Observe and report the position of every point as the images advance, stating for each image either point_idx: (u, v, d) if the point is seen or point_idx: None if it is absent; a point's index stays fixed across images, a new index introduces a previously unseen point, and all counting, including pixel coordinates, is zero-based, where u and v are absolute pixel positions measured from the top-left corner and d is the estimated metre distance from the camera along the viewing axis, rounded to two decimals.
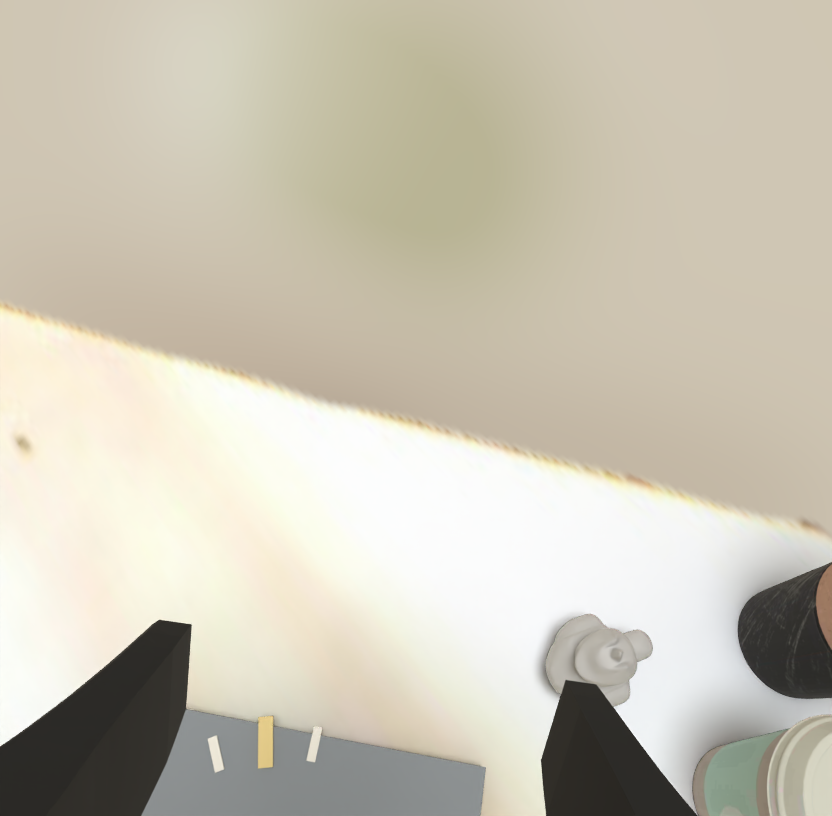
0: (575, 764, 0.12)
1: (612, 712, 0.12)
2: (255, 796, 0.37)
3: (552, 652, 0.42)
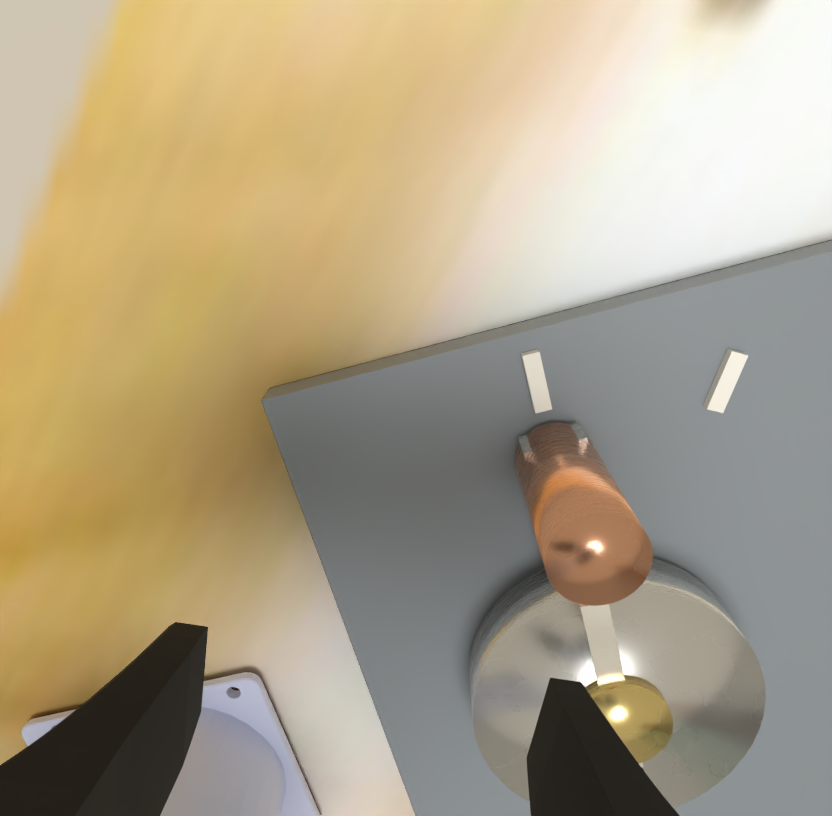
0: (558, 761, 0.12)
1: (595, 709, 0.12)
2: (816, 551, 0.22)
3: None
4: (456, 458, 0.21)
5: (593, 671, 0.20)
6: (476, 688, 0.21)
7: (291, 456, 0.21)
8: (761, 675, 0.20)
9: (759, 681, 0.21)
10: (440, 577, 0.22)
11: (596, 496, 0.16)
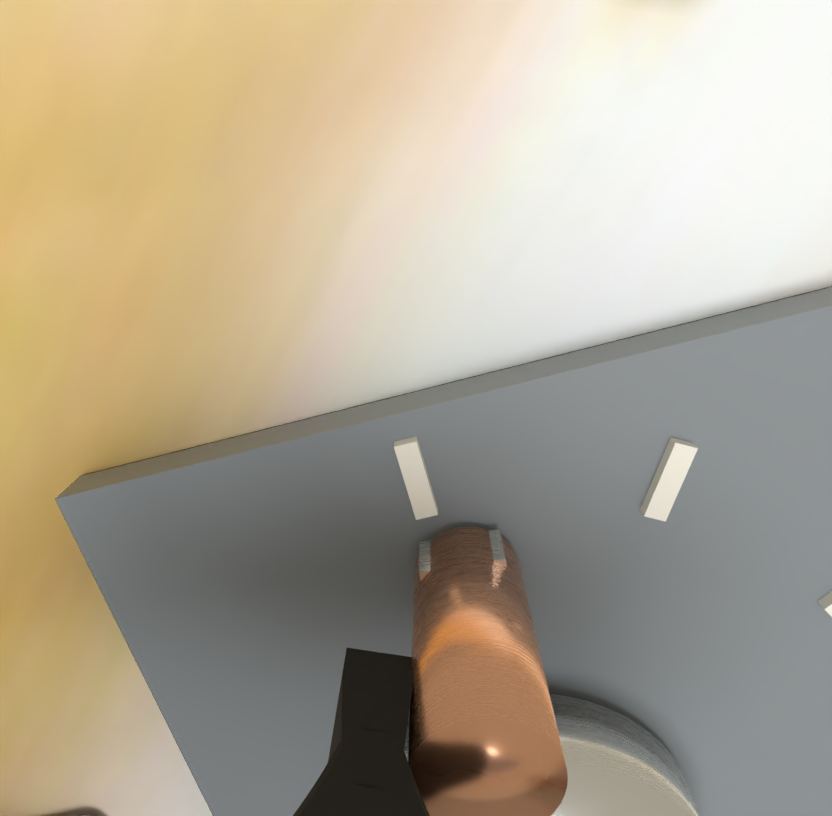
0: (335, 730, 0.11)
1: (376, 678, 0.12)
2: (792, 689, 0.17)
3: None
4: (318, 573, 0.16)
5: None
6: None
7: (102, 569, 0.16)
8: None
9: None
10: (308, 716, 0.17)
11: (494, 680, 0.11)
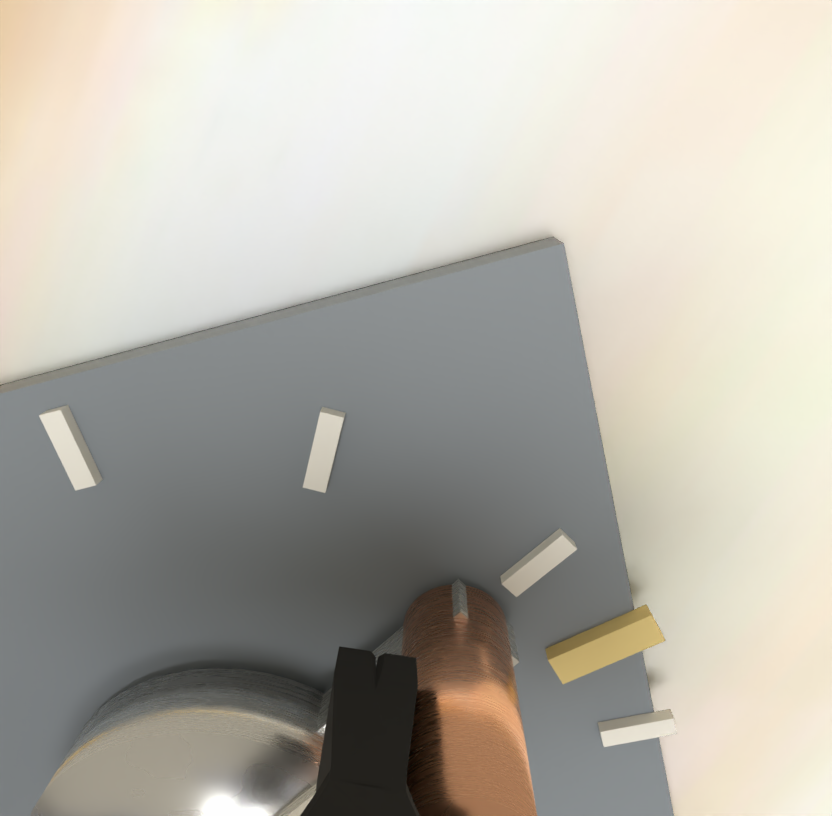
0: (326, 729, 0.11)
1: (367, 676, 0.12)
2: None
3: None
4: None
5: None
6: (128, 739, 0.15)
7: None
8: None
9: None
10: (13, 691, 0.17)
11: (529, 786, 0.11)
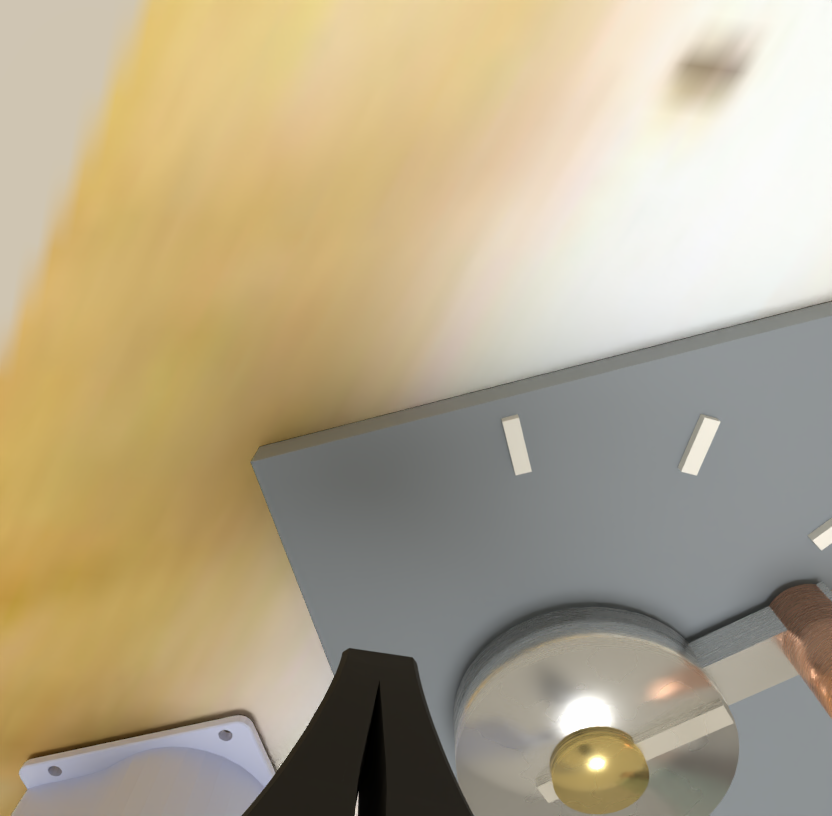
0: (372, 735, 0.11)
1: (413, 683, 0.12)
2: None
3: None
4: (439, 516, 0.21)
5: (642, 731, 0.21)
6: (594, 646, 0.20)
7: (280, 514, 0.21)
8: None
9: None
10: (425, 628, 0.23)
11: None
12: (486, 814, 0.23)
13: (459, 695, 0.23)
